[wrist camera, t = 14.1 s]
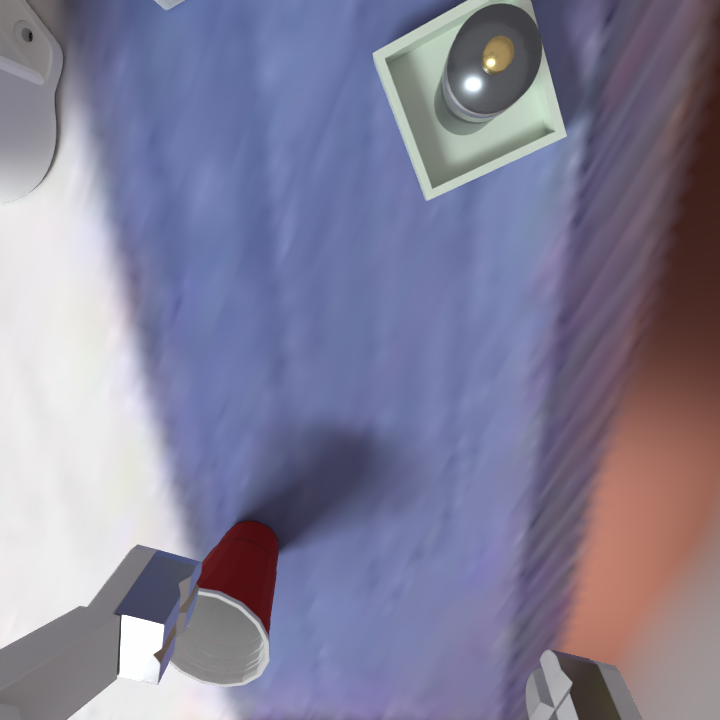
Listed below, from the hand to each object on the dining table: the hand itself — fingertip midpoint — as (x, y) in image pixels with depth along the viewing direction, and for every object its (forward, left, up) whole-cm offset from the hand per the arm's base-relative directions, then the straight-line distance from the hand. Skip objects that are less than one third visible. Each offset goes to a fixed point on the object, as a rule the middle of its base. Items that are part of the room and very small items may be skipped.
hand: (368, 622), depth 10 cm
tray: (-12, +11, -29) cm, 33 cm away
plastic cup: (+18, -24, -29) cm, 42 cm away
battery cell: (-12, +11, -28) cm, 33 cm away
